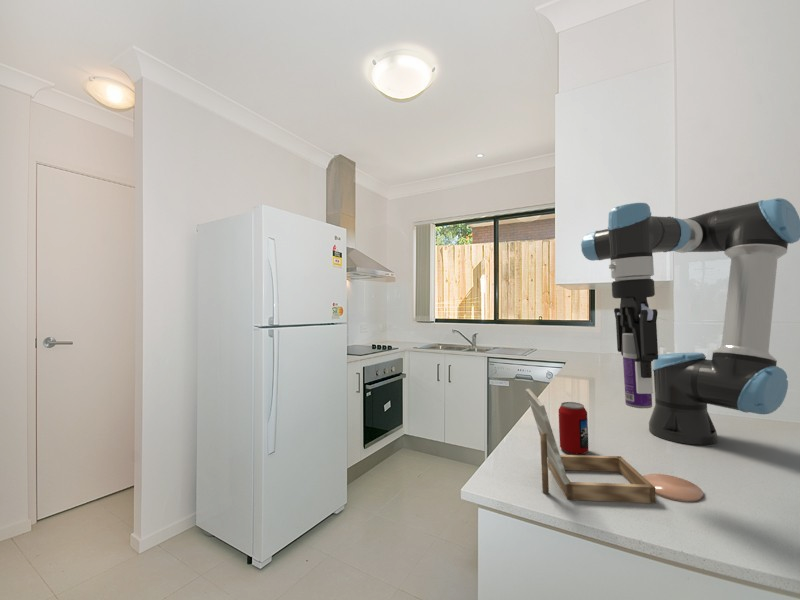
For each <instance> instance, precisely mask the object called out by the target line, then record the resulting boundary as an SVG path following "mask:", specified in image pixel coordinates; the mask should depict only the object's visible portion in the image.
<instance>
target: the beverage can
mask: <svg viewBox="0 0 800 600" xmlns="http://www.w3.org/2000/svg"><path fill="white" fill-rule="evenodd" d="M588 420H589V419H588V411H587V410H586V408H585V406H584V404H582V403H579V402H574V401H564V402H561V405H560V407H559V408H558V431H559V432H558V433H559V447H560V449H561V450H562V451H564V452H566V453H567V454H568V455H584V454H586V453H588V452H589V425H588V422H589V421H588Z"/></svg>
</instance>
